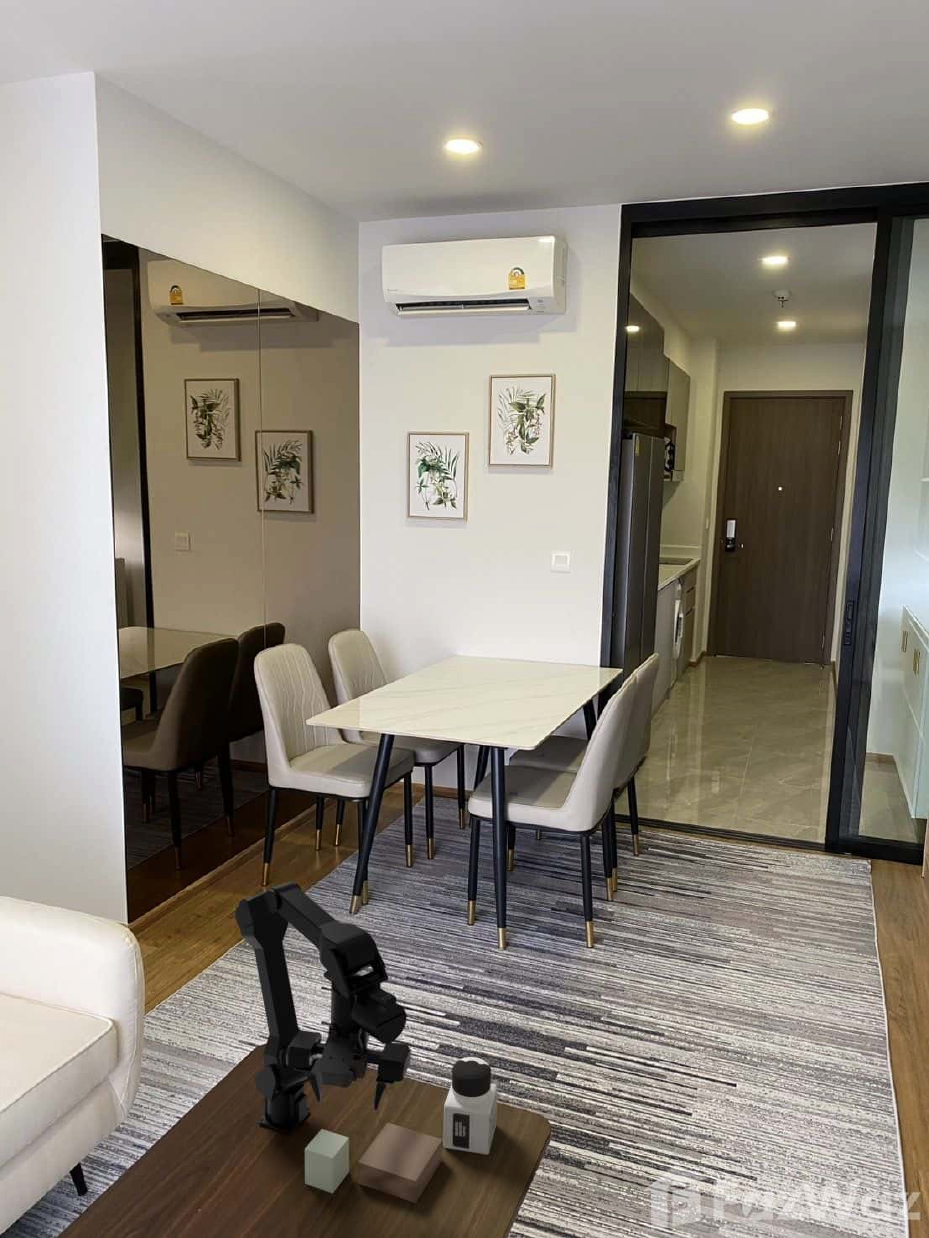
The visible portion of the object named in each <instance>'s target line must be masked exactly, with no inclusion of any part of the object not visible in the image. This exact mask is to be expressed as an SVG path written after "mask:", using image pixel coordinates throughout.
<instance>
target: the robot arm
mask: <svg viewBox="0 0 929 1238" xmlns="http://www.w3.org/2000/svg"><path fill="white" fill-rule="evenodd" d="M234 915H235V916H234V918H235V921H236V923H237V925H238V928H239V930H240V935H241V937H242V938H243V939H244V940H245V941H246V942H247V944H249V946H251V948H252V949H253V951H254V952H253V953H254V957H255V962H256V968H257V973H258V979H259V986H260V989H261V997H262V1001H263V1006H264V1011H265V1016H266V1022H267V1028H268V1037H267V1040H266V1044H265V1047H264V1049H263V1054H262V1056H263V1064H264V1065H263V1066H264V1068H262V1069H261V1070H260V1071H259V1072H257V1073H256V1074H255V1075H254V1077H253V1079H254V1085H255V1088H256V1090H257V1091H258V1092H259V1093H260V1094H261V1095H262V1096H263V1098H264V1099H263V1102H264V1103H263V1108H264V1109H263V1110H264V1112H263V1113H264V1114H263V1115H261V1117H260V1118H259V1119H258V1124H259V1125H262V1126H265V1127H268V1128H270V1129H273V1130H276V1131H280V1132H283V1133H286V1134H291V1133H292V1132H293V1131H295V1129H296V1128H297V1127H298V1126H299V1125H300V1123H302V1122H303V1120H304V1119H306V1117H307V1116H308V1115H309V1114H310V1112H311V1109H310V1107H308V1104H307V1103H308V1101H307V1098H308V1097H307V1096H308V1095H307V1093H305V1091H306V1090H305V1088H306V1087H305V1084H306V1083H308V1082H309V1083H310V1086H311V1088H312V1091H313V1093H314V1095H315V1098H316V1101H317V1102H318V1103H320V1102H321V1101H322V1099H323V1094H324V1086H333V1087H334V1086H335V1087H339V1088H341V1089H347V1088H349V1087H350V1086H351V1085H352V1083H353V1082H356V1081H357V1080H358V1079H361V1080H363V1079H364V1078H365V1075H366V1072H367V1069H368V1065H377V1076H376V1079H375V1083H376V1087H375V1092H374V1093H375V1094H374V1100H373V1101H374V1102H373V1104H374V1105H373V1107H374V1111H378V1110H379V1107H380V1103H381V1100H382V1099H383V1095H384V1093H385V1090H386V1088H387V1086H388V1085H393V1084H396V1082H398V1083H399V1082H402V1081H404V1079H405V1077H406V1073H407V1071H408V1068H409V1066H410V1062H411V1060H412V1049H411V1047H409V1045H408V1044H405V1043H398V1042H394V1041H396V1040H397V1039H398V1038H399V1037H400V1035H401V1034H402V1033H403V1030H404V1029H405V1026H406V1023H407V1018H408V1016H407V1015H408V1014H407V1013H406V1009H405V1008H404V1006H402V1005H401V1004H399V1003H397V996H395V995H394V994H393V993H391V992H388V991H386V990H384V989H383V988H381V984H383V983H385V982H387V981H388V980H389V976H388V973H387V970H386V968H387V965H386V964H385V961H384V960H383V957H382V956H381V954H380V952H379V949H378V947H377V944H376V943H377V942H376V941H375V939H374V938H373V936H372V935H371V934H370V933H369V932H368V931H366V930H364V929H363V928H361V927H360V926H357V925H355V924H353V923H346V922H341V921H339V920H337V919H335V918H334V917H333V916H332V915H331V914H330V913H329V912H327V911H326V910H325V909H324V908H323V907H322V906H320V905H319V904H318V903H316V902H315V901H314V900H313V899H311V897H309V896H308V895H307V894H306V893H305V892H303V891H302V888H301V886H300V885H299V884H298V883H297V882H296V881H294V882H293V881H288V882H285V883H281V884H279V885H275V886H273V887H270V889H269V890H268V889H267V891H264V892H263V891H262V892H261V893H258V894H255V895H252V896H249V897H246V898H245V897H244V898H241V900H240V901H239V902H238V906H236V909H235V911H234ZM289 924H290V925H291V926H293V927H294V929H296V930H297V931H298V932H299V933H300V934H301V935H303V937H305V938H306V940H308V941H309V942H310V943H311V944H312V945H314V946H315V948H316V949H317V950H318V953H319V955H318V956H319V962H320V964H321V965H322V966H323V967H324V968H325V970H326V971H325V972H323V977H324V978H325V979H327V981H329V982H330V983H331V984H330V986H331V987H330V991H331V992H330V1024H329V1026H328V1031H327V1039H326V1041H325V1043H324V1042H322V1039H323V1037H322V1036H323V1035H322V1034H321V1032H317V1031H310V1030H309V1031H308V1030H304V1029H301V1028H300V1027H299V1024H298V1019H297V1018H298V1017H297V1012H296V1007H295V1001H294V997H293V991H292V985H291V980H290V975H289V970H288V965H287V959H286V954H285V950H284V949H285V948H284V940H285V936H286V933H287V930H288V928H289ZM370 967H371V969H372V971H369V972H367V973H365V974H363V975H362V974H360V973H359V972H362V971H364V970H366V969H368V968H370ZM370 1036H371V1037H373V1038H374V1039H375V1040H377V1041H378V1043H379V1042H380V1043H381V1044H383V1045H384V1048H383V1050H382V1049H381V1050H380V1049H376V1048H375V1049H374V1048H368V1043H369V1040H370Z"/></svg>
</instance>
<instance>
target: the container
mask: <svg viewBox="0 0 929 1238" xmlns="http://www.w3.org/2000/svg"><path fill="white" fill-rule="evenodd" d="M446 1096H447V1097H446V1099H445V1102H444V1104H443V1105H444V1106H443V1136H442V1140H443V1141H442V1147H444V1148H445V1149H449V1150H450V1149H451V1150H456V1151H464V1152H469V1153H476V1154H481V1155H486V1156H487V1155H489V1154H490V1149H491V1145H492V1144H493V1143H492V1142H493V1138H494V1135H495V1130H496V1126H497V1112H498V1111H497V1103H498V1102H497V1100H498V1086H497V1084H496V1083H492V1068H491V1066H490V1064H488V1062H487V1061H485V1060H484V1059H482V1058H479V1057H475V1056H474V1057H473V1056H470V1057H469V1056H467V1057H462V1058H461V1059H458V1060H457V1061H456V1062H455V1063H454V1064H453V1065H452V1069H451V1086H450V1088H449V1091H448V1094H447V1095H446Z"/></svg>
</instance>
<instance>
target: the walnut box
mask: <svg viewBox="0 0 929 1238" xmlns="http://www.w3.org/2000/svg"><path fill="white" fill-rule="evenodd" d="M442 1161H443V1138H439V1137H435V1136H432V1135H429V1134H426V1133H422V1132H419V1131H417V1130H413V1129H410V1128H406V1127H403V1126H401V1125H397V1124H393V1123H390V1122H387V1123H386V1124H385V1125H384V1126H383V1128H382V1129H381V1130H380V1132H379V1133H378V1135H377V1136H376V1137H375V1138H374V1140H373V1141H372V1143H371V1144H370V1146H369V1147H368V1148H367V1149H366V1151H365V1152H364V1154H363V1155H362V1156H361V1158H359V1160H358V1162H357V1184H359V1185H362V1186H365V1187H368V1188H371V1189H373V1190H377V1191H380V1192H382V1193H383V1192H384V1193H385V1194H388V1195H391V1196H394V1197H397V1198H400V1199H403V1200H406V1201H408V1202H412V1203H417V1202H418V1200H419V1198H420V1196H422V1193H423V1192H424V1191H425V1189H426V1187H427V1185H429V1182H430V1181H431V1179H432V1178H433V1175H434V1174H435V1172H436V1171H437V1169H439V1168H438V1167H439V1166H440V1164H441V1163H442Z"/></svg>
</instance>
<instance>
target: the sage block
mask: <svg viewBox="0 0 929 1238" xmlns="http://www.w3.org/2000/svg"><path fill="white" fill-rule="evenodd" d="M349 1173H350V1138H349V1137H348V1136H345V1135H341V1134H339V1133H336V1132H333V1131H329V1130H326V1129H323V1128H321V1129H320V1130H319V1131H318V1133H317V1134H315V1136H314V1138H313V1139H312V1140H311V1141H310V1142H309V1143H308V1144H307V1146H306V1147H305V1148H304V1184H306V1185H308V1186H311V1187H314V1188H317V1189H320V1190H323V1191H324V1192H328V1193H331V1194H334V1192H335V1191H336V1190H337V1188H339V1186H340V1184H341V1183H342V1182H343V1180H344V1179H345V1178H346V1177H347V1175H348V1174H349Z"/></svg>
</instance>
